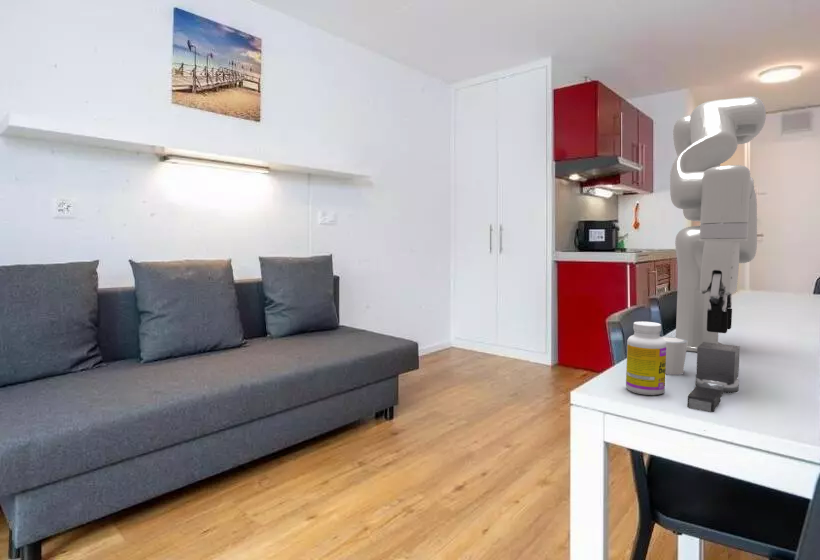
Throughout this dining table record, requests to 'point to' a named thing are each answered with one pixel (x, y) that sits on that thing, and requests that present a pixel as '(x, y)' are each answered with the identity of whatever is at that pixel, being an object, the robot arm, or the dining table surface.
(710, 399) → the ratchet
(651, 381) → the supplement bottle
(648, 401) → the dining table surface
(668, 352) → the white cup
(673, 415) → the dining table surface
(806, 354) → the dining table surface
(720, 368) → the grey cube
